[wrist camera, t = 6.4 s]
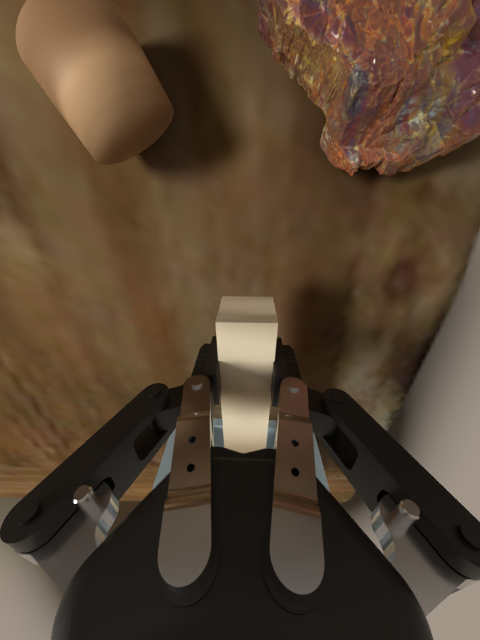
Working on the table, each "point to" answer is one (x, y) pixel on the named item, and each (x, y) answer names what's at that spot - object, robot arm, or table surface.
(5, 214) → the table surface
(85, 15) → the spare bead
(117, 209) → the table surface
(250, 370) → the long cream stick
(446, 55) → the mineral specimen
